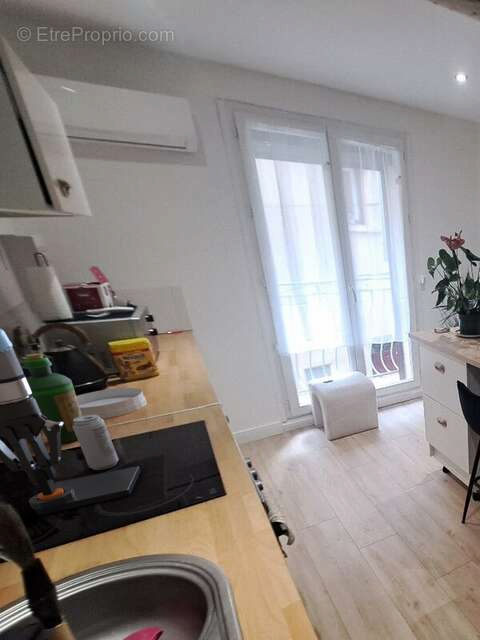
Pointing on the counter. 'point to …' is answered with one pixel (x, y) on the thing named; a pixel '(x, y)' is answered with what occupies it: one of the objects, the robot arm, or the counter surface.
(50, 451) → the robot arm
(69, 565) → the counter surface
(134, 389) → the dish
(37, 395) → the bottle
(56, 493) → the tare button
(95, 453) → the energy drink can
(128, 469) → the scale
